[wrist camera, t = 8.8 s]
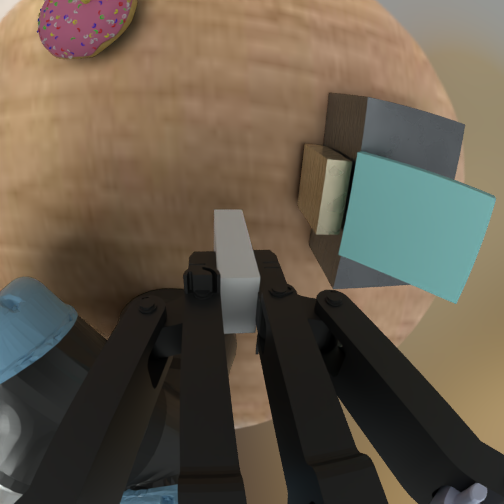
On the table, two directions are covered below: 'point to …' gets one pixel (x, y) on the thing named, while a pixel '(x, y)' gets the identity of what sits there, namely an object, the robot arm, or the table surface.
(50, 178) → the table surface
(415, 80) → the table surface
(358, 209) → the teal rectangular plate
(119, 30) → the cupcake
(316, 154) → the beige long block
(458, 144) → the grey block
